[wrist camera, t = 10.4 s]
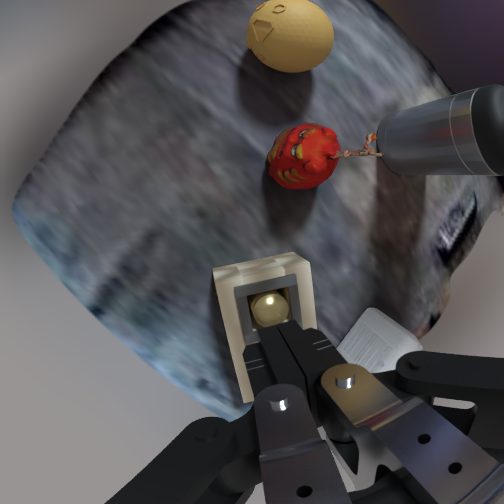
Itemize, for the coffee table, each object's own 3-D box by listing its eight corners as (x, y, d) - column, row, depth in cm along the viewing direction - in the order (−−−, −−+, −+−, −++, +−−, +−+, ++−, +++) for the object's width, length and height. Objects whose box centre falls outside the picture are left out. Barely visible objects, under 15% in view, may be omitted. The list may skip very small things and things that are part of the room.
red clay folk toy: (279, 121, 33) (330, 79, 19) (329, 145, 35) (401, 124, 20) (255, 177, 34) (296, 166, 20) (308, 200, 36) (374, 206, 21)
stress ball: (320, 65, 34) (327, 0, 26) (336, 88, 27) (349, 4, 20) (246, 59, 33) (248, -7, 26) (243, 80, 27) (245, -7, 19)
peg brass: (272, 275, 36) (286, 290, 30) (276, 303, 37) (290, 322, 31) (242, 281, 35) (250, 299, 30) (247, 310, 36) (256, 331, 30)
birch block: (292, 251, 37) (311, 263, 30) (305, 359, 40) (322, 384, 34) (212, 268, 35) (215, 284, 29) (237, 377, 39) (244, 406, 32)
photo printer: (344, 368, 42) (384, 415, 30) (325, 358, 41) (364, 408, 29) (384, 314, 41) (435, 349, 29) (367, 301, 40) (420, 337, 28)
